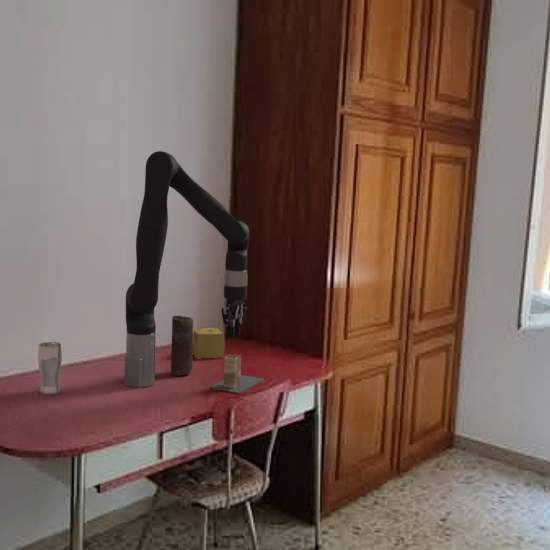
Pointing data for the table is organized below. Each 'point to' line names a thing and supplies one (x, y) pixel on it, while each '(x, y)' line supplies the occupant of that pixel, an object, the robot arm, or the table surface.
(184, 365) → the brown rough cylinder
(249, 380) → the mat
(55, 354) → the beer glass
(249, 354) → the table surface
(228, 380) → the block
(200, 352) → the cheese
